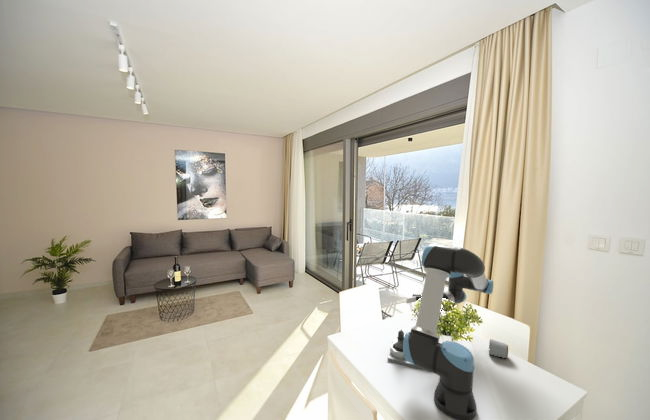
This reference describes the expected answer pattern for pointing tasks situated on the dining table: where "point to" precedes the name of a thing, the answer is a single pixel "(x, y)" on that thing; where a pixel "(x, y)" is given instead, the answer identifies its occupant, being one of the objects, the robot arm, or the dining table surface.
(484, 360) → the dining table surface
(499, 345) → the grey rounded block
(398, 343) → the dark figurine
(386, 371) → the dining table surface
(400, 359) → the housing
